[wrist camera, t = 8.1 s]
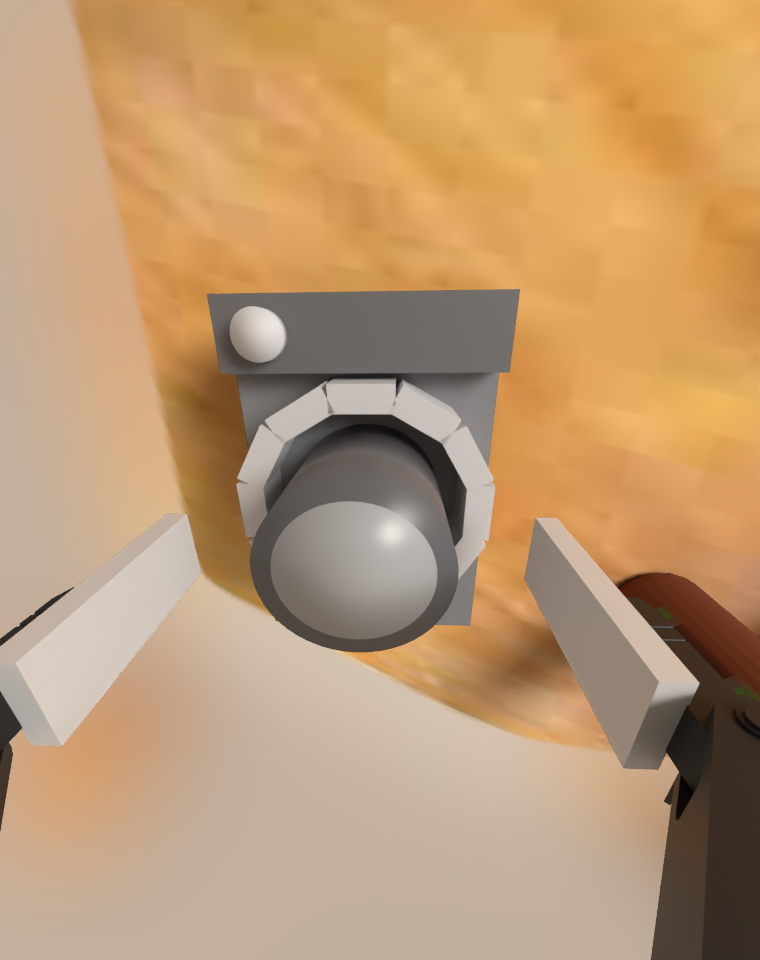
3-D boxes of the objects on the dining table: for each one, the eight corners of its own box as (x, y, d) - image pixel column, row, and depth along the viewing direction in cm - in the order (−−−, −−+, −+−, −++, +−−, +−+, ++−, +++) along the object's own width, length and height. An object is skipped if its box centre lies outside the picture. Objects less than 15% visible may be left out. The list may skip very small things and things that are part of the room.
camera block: (280, 308, 23) (193, 291, 13) (470, 306, 22) (529, 286, 12) (305, 548, 29) (261, 654, 20) (451, 550, 29) (478, 660, 19)
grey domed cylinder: (295, 422, 17) (234, 478, 11) (441, 424, 17) (468, 483, 10) (306, 545, 20) (263, 649, 13) (432, 549, 20) (450, 657, 13)
